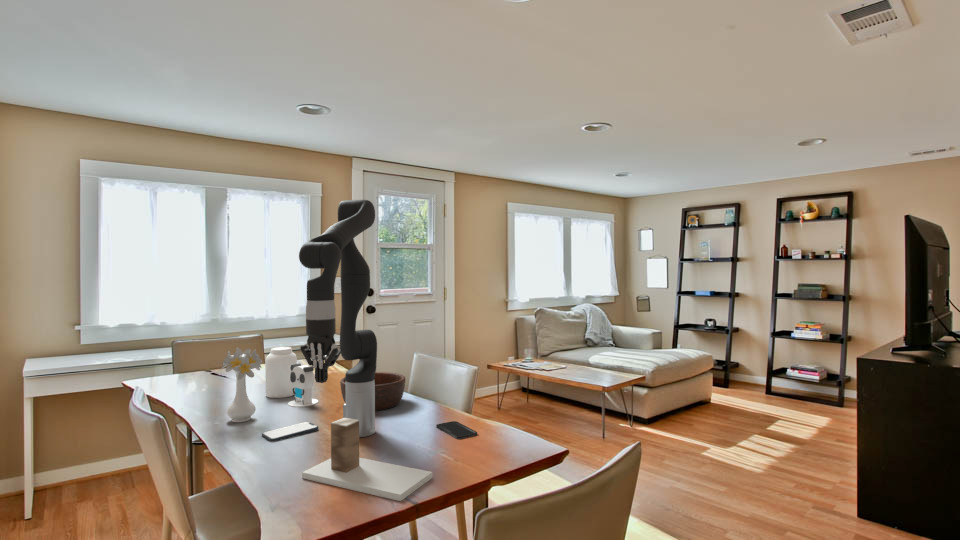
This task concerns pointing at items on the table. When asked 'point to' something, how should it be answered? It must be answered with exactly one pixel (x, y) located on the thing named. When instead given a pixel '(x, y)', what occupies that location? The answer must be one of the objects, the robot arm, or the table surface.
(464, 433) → the phone
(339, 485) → the white board
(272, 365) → the white jar
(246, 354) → the flower vase
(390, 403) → the wooden bowl
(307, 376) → the panda figurine
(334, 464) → the walnut block
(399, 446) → the table surface
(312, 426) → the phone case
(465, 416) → the table surface
